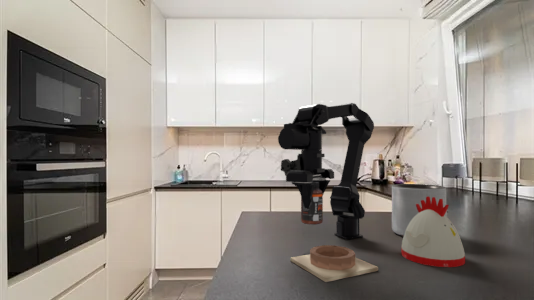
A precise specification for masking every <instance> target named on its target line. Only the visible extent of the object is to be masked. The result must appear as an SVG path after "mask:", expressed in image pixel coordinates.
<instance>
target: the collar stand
mask: <svg viewBox="0 0 534 300" xmlns="http://www.w3.org/2000/svg"><path fill="white" fill-rule="evenodd" d="M290 262H291V263H293V264H295V265H297V266H298V267H300V268H302V269H303V270H305V271H306V272H308V273H310V274H312V275H313V276H315V277H317V278H318V279H319V280H321V281H323V282H325V283H328V282H333V281H337V280H341V279H347V278H352V277H356V276H360V275H364V274H369V273H374V272H378V271H379V266H376V265H374V264H373V263H372V264H371V263H369V262H367V261H364V260H362V259H361V258H358V257H356V253H355V251H354V249H351V248H348V247H346V246H341V245H331V244H330V245H329V244H328V245H324V244H323V245H316V246H314V247H312V248H310V249H309V254H305V255H298V256H293V257H292V256H291V257H290Z"/></svg>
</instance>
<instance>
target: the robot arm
mask: <svg viewBox="0 0 534 300" xmlns="http://www.w3.org/2000/svg"><path fill="white" fill-rule="evenodd" d="M351 116H352V117H353V118H349V117H351ZM338 118H341V120H342V121H341V122H342V124H341V125H342V126H343V127H344V129H345V135H346V137H347V140H348V144H347V150H346V153H345V159H344V164H343V169H342V173H341V179H340V182H339V184H338V185H334V186H332V189H331V195H330V198H329V199H330V200H329V203H330V209H331V212H332V215H333V217H334V216H336V217H337V219H336V222H335V223H336V232H334V235H335V236H337V237H339V238H344V239H346V240H351V239H358V238H363V237H364V235H363V234H360V219H361V220H363V218H365V214H366V210H365V208H364V206H363V205H362V203H361V202H360V197H361V196H360V194H359V193H360V192H359V190H358V188H357V185H358V181H359V180H358V178H359V175H360V168H361V163H362V158H363V154H364V153H363V152H364V148H365V144H366V143H368V141H369V140H370V139H371V138H372V134H373V133H374V132H373V131H374V129H375V124H374V121H373V120H372V117H370V115H369V114H368V113H367V112H365V111H364V110H362V109H361V108H359V107H358V105H357V103H355V102H354V103H353V102H349V103H343V104H339V105H333V106H328V105H326V104H321V103H316V104H311V105H305V106H304V105H303V106H300V107H299V108H298V110H297V114H296V115H295V117H294V119H293V121H292V122H287V123H283V128H282V129H281V130H280V132H279V134H278V137H277V142H278V144H279V145H278V146H280V148H281V149H283V150H291V151H292V150H294V151H295V150H297V151H298V150H300V153H297V158H296V159H295V160H291V159H289V158H286V159H283V160H281V163H280V171H281V172H283V173H284V176H285V182H287V183H288V182H289V183H291V185H293V186H295V187H296V188H297V189H298V192H299V195H300V199H301V198H302V201H303V204H304V207H305V208H309V205H310V202H311V199H312V195H313V191H314V188H315V184H316V183H313V182H319V189H320V190H321V191H322V193H323V195H324V194H325V191H326V190H327V187H328V185H329V183H331V180H332V179H335V172H334V171H333V169H331V168H323V158H325V153H323V148H322V147H323V141H322V140H323V139H322V137H323V135H327V131H326V130H325V129H324V128H323V126H322V125H324V124H325V123H328V122H329V120H332V119H338Z"/></svg>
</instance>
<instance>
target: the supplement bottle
mask: <svg viewBox="0 0 534 300" xmlns="http://www.w3.org/2000/svg"><path fill="white" fill-rule="evenodd" d="M313 183H316V184H315V188H314V191H313V195H312V199H311V202H310V205H309V208H305V207H304V204H303V201H302V198H301V197H300V221H301V223H303V224H305V225H312V226H314V225H320V224H322V223H323V221H324V220H323V219H324V215H323V214H324V210H323V209H324V208H323V207H324V205H323V203H324V200H323V198H324V197H323V196H324V194H323V193H322V191H321V190H320V189H319V182H313Z"/></svg>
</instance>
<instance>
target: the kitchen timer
mask: <svg viewBox="0 0 534 300" xmlns="http://www.w3.org/2000/svg"><path fill="white" fill-rule="evenodd" d="M421 205H422V209H421V207H420V205H419V204H416V207H417V210H418V212H419V213H418V214H417V215H416V216H415V217H414V218H413V219H412V220H411V221H410V223H409V224H408V226H407V229H406V231H405V234H404V236H402V237H403V238H402V241H401V249H400V250H401V255H402V257H403V258H405V259H406V260H408V261H411V262H414V263H417V264H421V265H425V266H431V267H439V268H454V267H455V268H456V267H460V266H464V265H465V264H466V253H465V249H464V246H463V245H464V244H463V243H462V240H461V237H460V235H459V232H458V230H457V228H456V227H455V225H454V224H453V222H452V221H451V220H450V218H448V216H447V217H446V216H445V213H446V211H447V210H448V209H449V204H447V205H445V207H444V208H443V199H439V202H438V205H437V203H436V199H435V197H432V202H431V200H430V197H429V196H428V197H426V203H425V201H424V200H421ZM447 212H448V211H447Z"/></svg>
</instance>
